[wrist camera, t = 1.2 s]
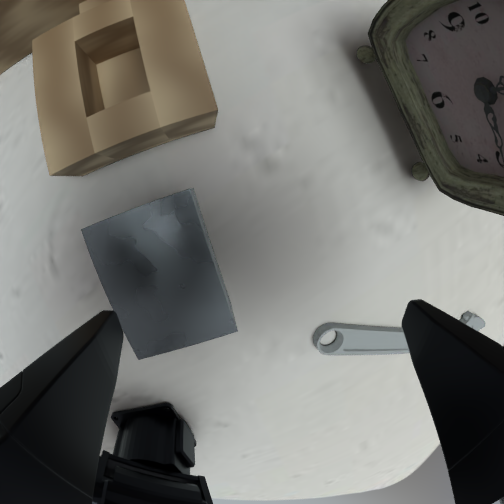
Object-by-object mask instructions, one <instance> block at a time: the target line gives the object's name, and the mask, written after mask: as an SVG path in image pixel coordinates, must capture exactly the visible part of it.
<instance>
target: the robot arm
mask: <svg viewBox="0 0 504 504" xmlns="http://www.w3.org/2000/svg"><path fill="white" fill-rule="evenodd" d="M402 329H403V332H404V335H405V338H406V342H407V345H408V348H409V352H410V355H411V359H412V362H413V365H414V368H415V371H416V373H417V376H418V379H419V381H420V384H421V387H422V389H423V392H424V395H425V397H426V400H427V403H428V406H429V409H430V412H431V415H432V418H433V421H434V424H435V427H436V430H437V433H438V437H439V440H440V443H441V447H442V450H443V454H444V457H445V461H446V465H447V468H448V472H449V477H450V481H451V486H452V490H453V494H454V499H455V504H492V503H494V502H496V501H498V500H500V503H501V504H504V346H501V345H500V344H499V343H497V342H495V341H493V340H492V339H490V338H488V337H487V336H485V335H483V334H482V333H480V332H478V331H476V330H475V329H473V328H471V327H470V326H468V325H466V324H464V323H463V322H461V321H459V320H457V319H456V318H454V317H452V316H450V315H448V314H447V313H445V312H443V311H441V310H440V309H438V308H436V307H434V306H432V305H431V304H429V303H427V302H425V301H423V300H421V299H418V300H411V301H410V302H409V303H408V305H407V308H406V311H405V314H404V316H403V319H402ZM122 343H123V330H122V327H121V324H120V321H119V318H118V315H117V313H116V312H115V311H108V310H103V311H101V312H100V313H98V314H97V315H96V316H94V317H93V318H91V319H90V320H89V321H87V322H86V323H85V324H83V325H82V326H81V327H79V328H78V329H76V330H75V331H74V332H72V333H71V334H70V335H68V336H67V337H66V338H64V339H63V340H62V341H60V342H59V343H58V344H56V345H55V346H54V347H52V348H51V349H50V350H48V351H47V352H46V353H44V354H43V355H42V356H41V357H39V358H38V359H37V360H35V361H34V362H33V363H31V364H30V365H29V366H28V367H26V368H25V369H24V370H23V372H22V371H21V372H20V373H19V374H17V375H16V376H15V377H14V378H12V379H11V380H10V381H8V382H7V383H6V384H4V385H3V386H2V387H0V504H213V502H212V499H211V496H210V493H209V489H208V486H207V483H206V479H205V476H199V475H198V476H194V475H190V468H191V467H194V465H195V451H194V447H195V446H196V441H195V439H194V435H193V433H192V432H191V430H190V429H189V427H188V426H187V424H186V423H185V421H184V420H182V419H180V417H179V416H178V414H177V413H176V411H175V409H174V408H173V406H172V405H171V404H169V403H162V404H158V405H153V406H148V407H142V408H137V409H131V410H125V411H119V412H114V413H112V415H111V418H112V420H113V421H114V423H115V424H116V425H117V426H118V428H119V431H118V435H117V440H116V444H115V448H114V452H113V454H110V453H109V452H107V451H104V450H103V452H102V456H100V450H101V445H102V440H103V436H104V431H105V426H106V422H107V417H108V413H109V409H110V405H111V401H112V397H113V393H114V389H115V385H116V380H117V374H118V368H119V361H120V355H121V349H122ZM167 408H169V409H167Z"/></svg>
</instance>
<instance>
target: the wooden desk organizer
mask: <svg viewBox="0 0 504 504" xmlns="http://www.w3.org/2000/svg"><path fill="white" fill-rule="evenodd" d="M30 53H33V73H34V86H35V96H36V104H37V112H38V119H39V125H40V131H41V137H42V142H43V148H44V152H45V157H46V162H47V166H48V170H49V175H50V176H84V175H86V174H89V173H91V172H93V171H95V170H98V169H100V168H102V167H104V166H107V165H109V164H112V163H114V162H116V161H119V160H121V159H124V158H126V157H129V156H131V155H134V154H137V153H139V152H142V151H144V150H147V149H150V148H153V147H155V146H158V145H161V144H164V143H167V142H170V141H173V140H176V139H179V138H182V137H185V136H188V135H191V134H195V133H198V132H201V131H205V130H208V129H211V128H215V122H216V117H217V112H218V108H217V105H216V101H215V98H214V95H213V91H212V88H211V85H210V82H209V78H208V75H207V72H206V69H205V65H204V62H203V59H202V56H201V52H200V49H199V46H198V43H197V39H196V36H195V33H194V30H193V27H192V23H191V20H190V17H189V14H188V11H187V7H186V4H185V1H184V0H0V74H2V73H3V72H4V71H6V70H7V69H8V68H10V67H11V66H13V65H14V64H15V63H17V62H18V61H20V60H21V59H23V58H24V57H26V56H27V55H29V54H30Z"/></svg>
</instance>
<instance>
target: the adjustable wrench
mask: <svg viewBox="0 0 504 504" xmlns="http://www.w3.org/2000/svg"><path fill="white" fill-rule="evenodd" d="M459 321H461V322H463V323H464V324H466V325H468V326H470V327H471V328H473V329H475V330H476V331H479V330H480V329H482V328H483V327H485V321H484V320H483V319H482V318H481V317H479V316H477V315H475V314H472V313H471V312H469V311H467V312H466V313H465V314H463V317H462V318H461V319H460V320H459ZM333 330H335V331H336V332H337V337H336V339H335V341H334V342H333V343H331V344H330V345H327V346H323V345H321V343H320V340H321V338H322V337H323V336H324V335H325V334H326V333H327V332H329V331H333ZM313 342H314V344H315V346H316V347H317V349H318V350H319V352H320V353H322V354H324V355H382V354H404V353H410V352H409V348H408V345H407V342H406V338H405V335H404V332H403V329H402V328H397V327H380V326H365V325H352V324H340V323H326V324H324V325H322V326H320V327H319V328H318V329H317V330H316V332H315V334H314V337H313Z"/></svg>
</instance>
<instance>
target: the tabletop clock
mask: <svg viewBox="0 0 504 504" xmlns="http://www.w3.org/2000/svg"><path fill="white" fill-rule="evenodd" d="M368 36H369V39H370V42H371V45H372V48H371V47H370V46H361V47H360V48H358V50H357V57H358V59H359V60H360V61H361V62H363V63H367V64H368V63H373V62H374V61H375V60H376V59H377V62H378V64H379V66H380V68H381V70H382V72H383V74H384V77H385V79H386V81H387V83H388V85H389V87H390V89H391V92H392V94H393V96H394V98H395V101H396V103H397V105H398V108H399V110H400V113H401V115H402V117H403V119H404V121H405V123H406V125H407V127H408V129H409V131H410V133H411V135H412V138H413V140H414V142H415V144H416V147H417V149H418V151H419V153H420V156H421V158H422V160H423V162H418V163H416V164H415V165H414V166H413V168H412V174H413V176H414V178H415V179H417V180H419V181H425V180H426V179H427V178H428V177H429V175H430V176H431V178H432V179H433V181H434V183H435V184H436V186H437V188H438V189H439V191H440V192H442V193H444V194H445V195H447V196H449V197H450V198H452V199H454V200H456V201H458V202H461V203H463V204H466V205H468V206H471V207H474V208H478V209H482V210H485V211H489V212H492V213H496V214H499V215H503V216H504V0H388V1H387V2H386V3H385V4H384V5H383V6H382V7H381V9H380V10H379V11H378V13H377V14H376V16H375V17H374V19H373V21H372V24H371V27H370V29H369V32H368Z"/></svg>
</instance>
